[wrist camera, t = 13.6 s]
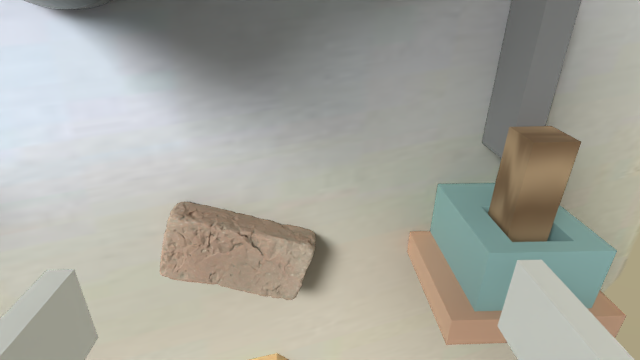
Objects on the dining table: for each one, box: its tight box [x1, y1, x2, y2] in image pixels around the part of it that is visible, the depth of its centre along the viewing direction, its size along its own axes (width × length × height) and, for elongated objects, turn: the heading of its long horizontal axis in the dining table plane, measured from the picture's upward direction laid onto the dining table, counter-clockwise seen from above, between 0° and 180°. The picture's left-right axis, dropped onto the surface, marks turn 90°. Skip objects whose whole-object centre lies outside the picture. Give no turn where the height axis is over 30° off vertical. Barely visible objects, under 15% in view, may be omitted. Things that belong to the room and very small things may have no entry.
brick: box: [160, 202, 315, 300], centre depth 43 cm, size 17×8×5 cm, turn 73°
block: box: [430, 183, 617, 311], centre depth 38 cm, size 6×11×13 cm, turn 90°
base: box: [407, 231, 626, 345], centre depth 40 cm, size 3×16×14 cm, turn 89°
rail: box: [482, 0, 581, 158], centre depth 35 cm, size 16×3×6 cm, turn 0°
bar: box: [488, 126, 581, 242], centre depth 35 cm, size 13×4×4 cm, turn 0°
